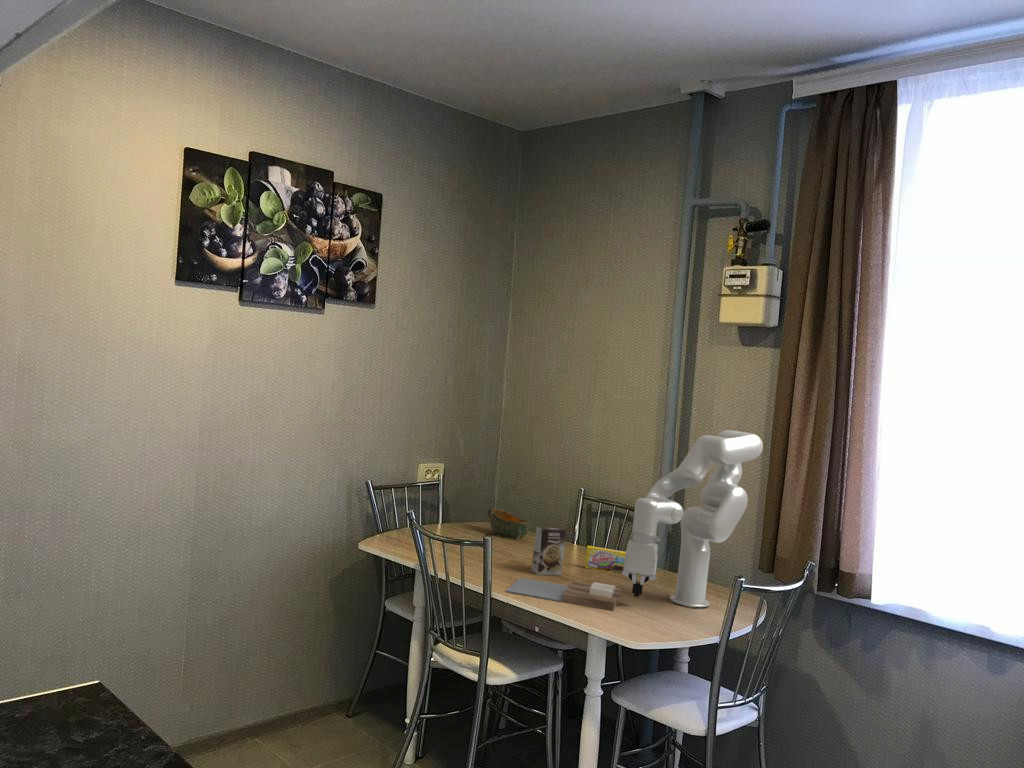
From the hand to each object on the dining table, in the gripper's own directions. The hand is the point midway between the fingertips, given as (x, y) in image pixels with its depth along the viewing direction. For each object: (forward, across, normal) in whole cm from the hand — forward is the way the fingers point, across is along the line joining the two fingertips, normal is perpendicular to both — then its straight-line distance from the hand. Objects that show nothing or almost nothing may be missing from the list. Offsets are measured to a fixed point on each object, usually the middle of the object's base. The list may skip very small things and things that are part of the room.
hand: (636, 595), depth 262 cm
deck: (+4, +14, 0) cm, 14 cm away
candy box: (+4, +15, -42) cm, 45 cm away
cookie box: (+4, +34, -24) cm, 42 cm away
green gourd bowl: (+4, +62, -76) cm, 98 cm away
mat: (+4, +31, 0) cm, 31 cm away
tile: (+1, +11, 0) cm, 11 cm away
